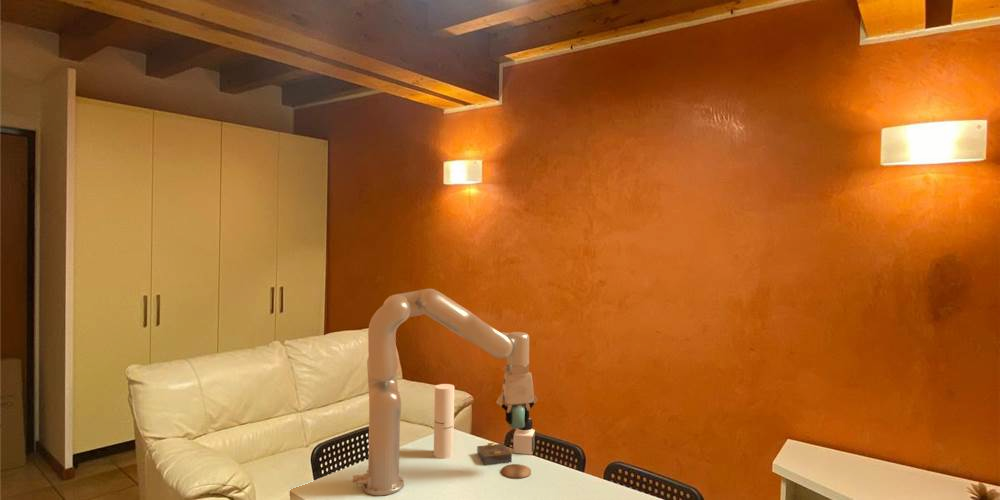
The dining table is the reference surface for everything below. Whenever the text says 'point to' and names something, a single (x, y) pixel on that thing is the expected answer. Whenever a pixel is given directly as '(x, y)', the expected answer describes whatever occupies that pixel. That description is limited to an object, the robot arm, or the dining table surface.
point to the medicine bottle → (524, 439)
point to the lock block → (494, 454)
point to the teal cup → (518, 416)
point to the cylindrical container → (444, 421)
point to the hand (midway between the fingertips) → (517, 421)
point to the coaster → (516, 471)
